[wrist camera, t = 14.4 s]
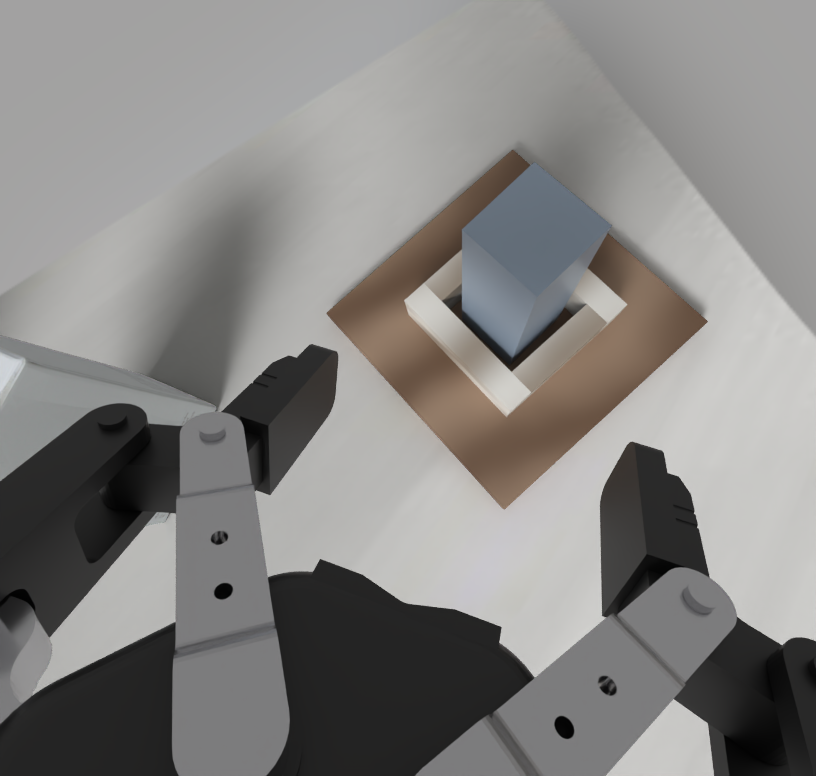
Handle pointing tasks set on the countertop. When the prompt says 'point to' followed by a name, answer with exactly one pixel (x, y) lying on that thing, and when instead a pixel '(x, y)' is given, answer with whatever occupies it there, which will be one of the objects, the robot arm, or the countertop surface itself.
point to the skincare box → (73, 399)
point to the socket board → (533, 370)
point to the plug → (525, 260)
